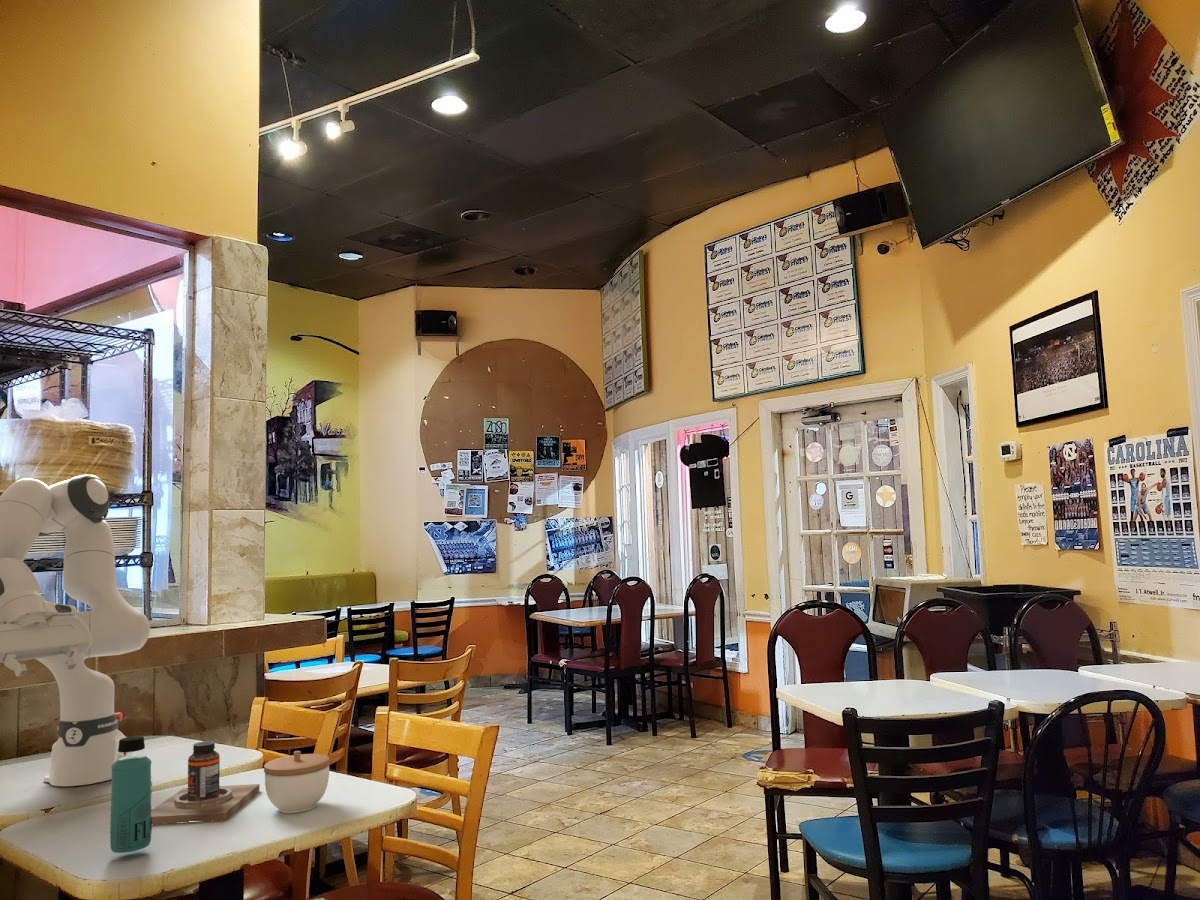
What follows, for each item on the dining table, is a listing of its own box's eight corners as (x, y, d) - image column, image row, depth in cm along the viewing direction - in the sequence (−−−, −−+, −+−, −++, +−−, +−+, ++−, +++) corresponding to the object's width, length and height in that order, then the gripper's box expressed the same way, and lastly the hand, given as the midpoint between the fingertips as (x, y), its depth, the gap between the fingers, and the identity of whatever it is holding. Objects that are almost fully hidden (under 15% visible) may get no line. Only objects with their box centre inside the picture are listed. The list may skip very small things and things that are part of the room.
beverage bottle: (133, 863, 148) (135, 741, 150) (99, 861, 149) (101, 741, 151) (160, 849, 154) (161, 733, 156) (127, 848, 156) (129, 733, 158)
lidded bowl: (266, 821, 168) (266, 762, 169) (261, 805, 179) (261, 749, 180) (334, 810, 173) (334, 753, 174) (325, 795, 184) (324, 741, 185)
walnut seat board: (183, 795, 188) (183, 783, 188) (259, 791, 189) (259, 779, 189) (140, 825, 168) (140, 812, 168) (225, 820, 169) (225, 807, 169)
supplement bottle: (182, 800, 179) (182, 744, 180) (211, 793, 183) (211, 738, 184) (195, 805, 175) (195, 747, 176) (224, 798, 179) (224, 741, 180)
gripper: (-26, 614, 173) (-5, 667, 167) (83, 605, 190) (105, 653, 184) (-36, 636, 175) (-16, 689, 169) (72, 625, 192) (94, 673, 186)
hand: (48, 670), depth 176 cm, fingers open, 8 cm apart
